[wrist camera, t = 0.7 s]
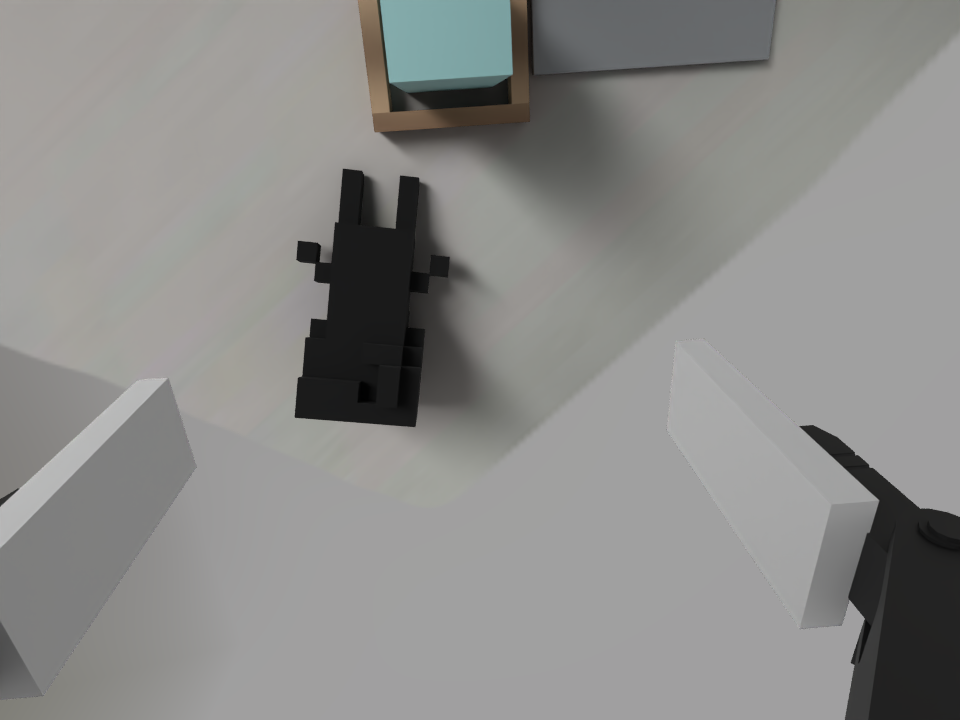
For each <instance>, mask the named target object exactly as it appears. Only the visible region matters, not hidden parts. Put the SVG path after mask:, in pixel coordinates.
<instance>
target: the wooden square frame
mask: <svg viewBox="0 0 960 720" xmlns="http://www.w3.org/2000/svg"><path fill="white" fill-rule="evenodd" d="M358 5H359V13H360V21H361V29H362V36H363V44H364V52H365V60H366V68H367V76H368V84H369V92H370V100H371V108H372V116H373V124H374V131H375V132H387V131H402V130H417V129H431V128H446V127H460V126H475V125H489V124H504V123H519V122H530V109H529V70H528V30H527V0H510V12H511V40H512V68H513V75H511V76H509V77H508V78H507V79H508V104H505V105H491V106H476V107H461V108H446V109H432V110H417V111H402V112H393V110H392V101H391V92H390V83H389V76H388V67H387V58H386V49H385V40H384V31H383V23H382V14H381V5H380V0H358Z"/></svg>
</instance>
